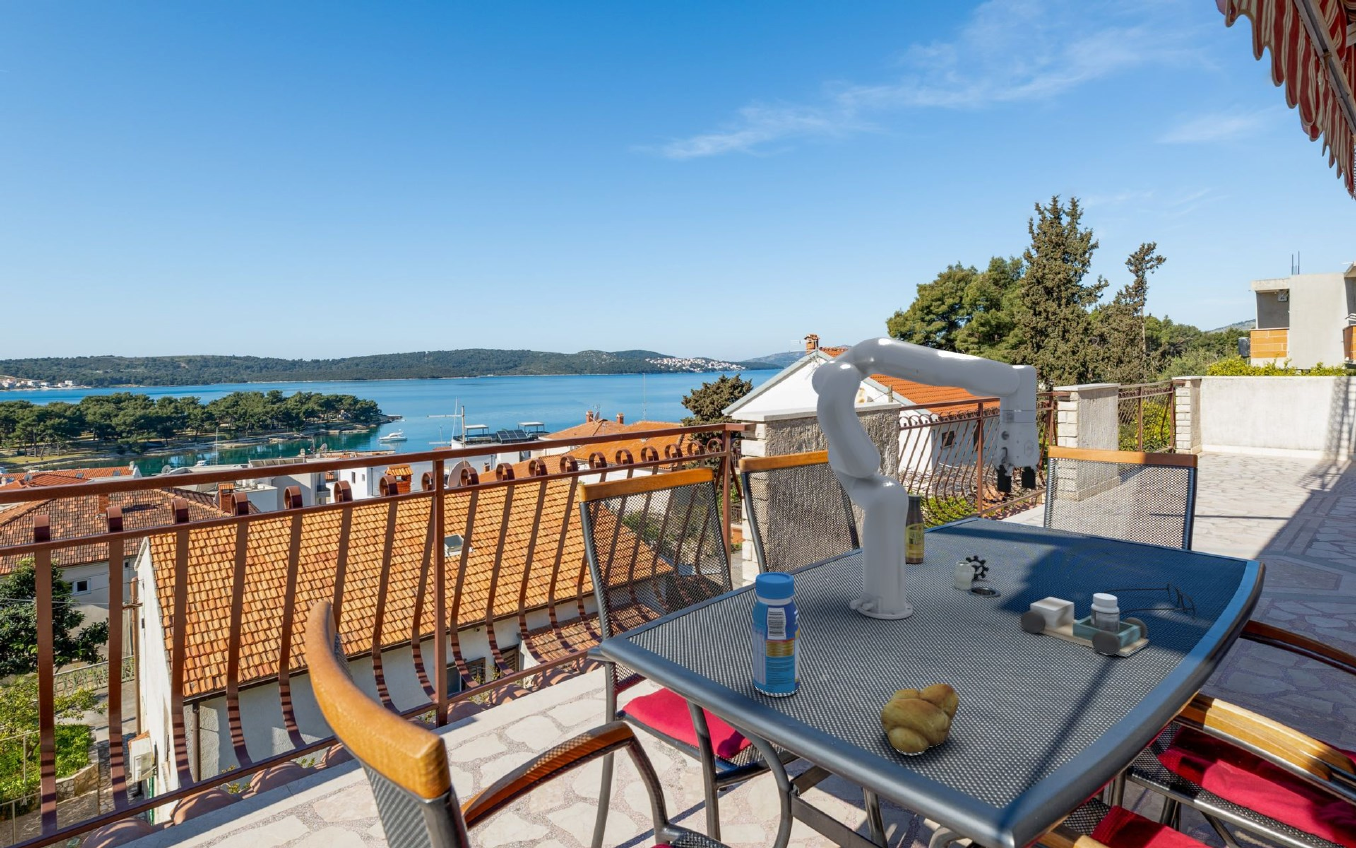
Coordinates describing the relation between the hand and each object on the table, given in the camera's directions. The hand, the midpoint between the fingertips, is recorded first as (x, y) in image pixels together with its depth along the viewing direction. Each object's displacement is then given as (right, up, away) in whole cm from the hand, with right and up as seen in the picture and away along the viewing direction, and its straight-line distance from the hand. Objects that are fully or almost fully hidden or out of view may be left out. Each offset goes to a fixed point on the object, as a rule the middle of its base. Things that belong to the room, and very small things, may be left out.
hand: (1016, 490), depth 151 cm
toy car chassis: (+4, -28, -19) cm, 34 cm away
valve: (-4, -27, +17) cm, 32 cm away
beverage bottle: (-62, -31, -38) cm, 79 cm away
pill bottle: (+6, -27, -23) cm, 36 cm away
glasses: (+28, -27, -3) cm, 39 cm away
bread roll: (-45, -32, -55) cm, 78 cm away
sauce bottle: (-10, -25, +39) cm, 48 cm away
